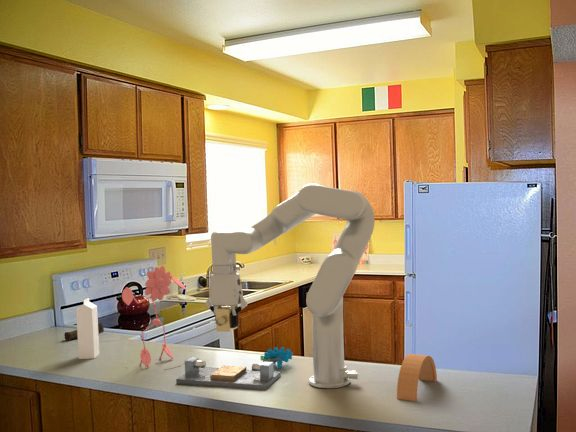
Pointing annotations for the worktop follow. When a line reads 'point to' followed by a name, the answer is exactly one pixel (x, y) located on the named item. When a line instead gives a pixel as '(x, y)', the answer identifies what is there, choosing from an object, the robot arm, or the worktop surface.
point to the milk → (87, 330)
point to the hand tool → (74, 335)
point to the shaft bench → (238, 383)
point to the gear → (277, 356)
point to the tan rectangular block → (224, 319)
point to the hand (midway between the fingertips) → (227, 326)
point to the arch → (414, 375)
